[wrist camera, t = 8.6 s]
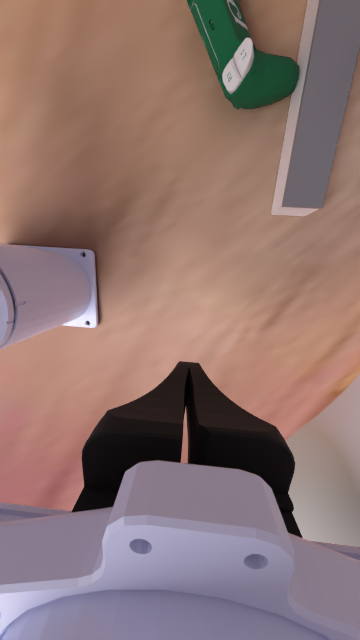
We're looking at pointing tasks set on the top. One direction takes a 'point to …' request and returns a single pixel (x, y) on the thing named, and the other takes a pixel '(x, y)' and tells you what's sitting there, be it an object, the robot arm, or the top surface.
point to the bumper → (317, 105)
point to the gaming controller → (241, 56)
